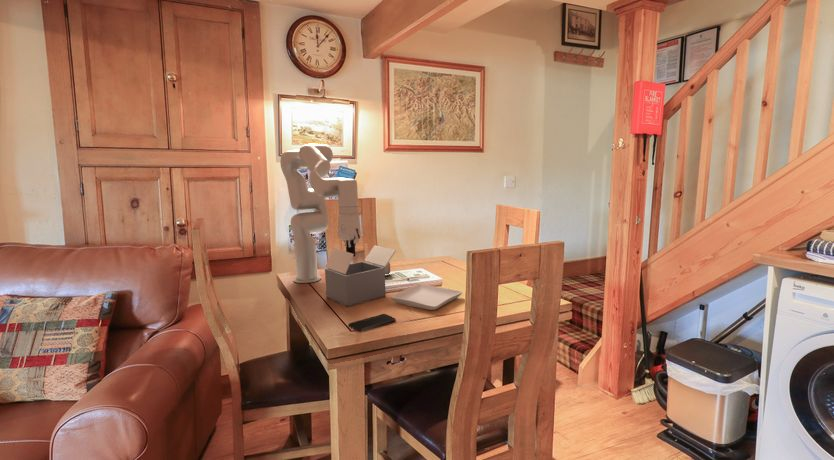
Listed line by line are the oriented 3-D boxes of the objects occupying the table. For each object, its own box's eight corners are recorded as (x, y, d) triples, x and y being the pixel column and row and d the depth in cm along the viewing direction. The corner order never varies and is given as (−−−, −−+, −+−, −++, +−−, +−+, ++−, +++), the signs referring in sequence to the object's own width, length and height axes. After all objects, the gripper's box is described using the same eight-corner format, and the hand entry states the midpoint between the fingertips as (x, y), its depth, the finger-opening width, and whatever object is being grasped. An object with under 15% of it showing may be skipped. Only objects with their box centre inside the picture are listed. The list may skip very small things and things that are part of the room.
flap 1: (353, 254, 167) (352, 253, 167) (345, 274, 166) (344, 273, 165) (334, 248, 178) (333, 248, 178) (326, 267, 177) (325, 267, 176)
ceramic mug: (391, 277, 208) (390, 261, 207) (373, 278, 206) (373, 262, 205) (388, 272, 218) (387, 257, 217) (371, 273, 217) (370, 258, 216)
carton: (326, 297, 179) (324, 268, 177) (363, 288, 190) (362, 261, 189) (347, 306, 167) (345, 276, 165) (385, 296, 178) (384, 267, 177)
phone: (397, 319, 150) (358, 330, 141) (397, 322, 151) (359, 333, 142) (384, 313, 157) (346, 323, 148) (384, 316, 157) (347, 326, 148)
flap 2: (374, 245, 191) (375, 245, 191) (364, 260, 188) (364, 261, 189) (395, 249, 180) (396, 250, 180) (384, 266, 177) (385, 267, 178)
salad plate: (463, 298, 174) (463, 290, 174) (435, 315, 157) (435, 305, 156) (419, 291, 186) (419, 283, 185) (388, 305, 169) (388, 296, 168)
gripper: (330, 210, 175) (333, 255, 178) (350, 212, 164) (353, 261, 167) (346, 208, 180) (348, 252, 183) (367, 211, 169) (369, 257, 172)
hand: (350, 256), depth 175 cm, fingers closed
